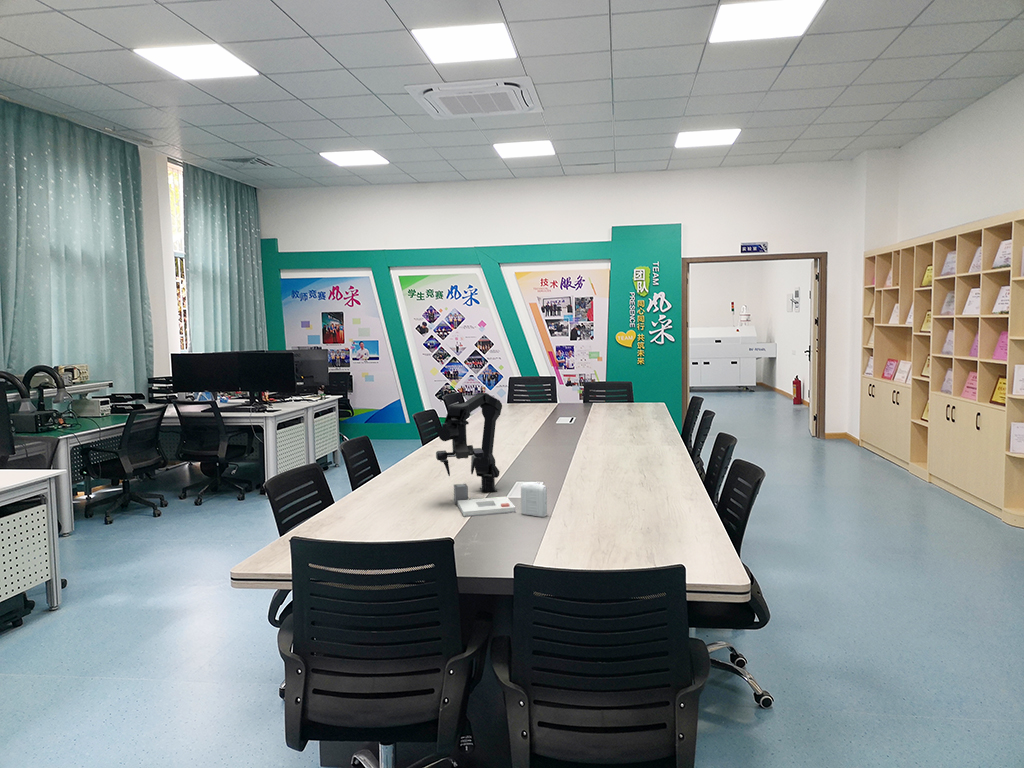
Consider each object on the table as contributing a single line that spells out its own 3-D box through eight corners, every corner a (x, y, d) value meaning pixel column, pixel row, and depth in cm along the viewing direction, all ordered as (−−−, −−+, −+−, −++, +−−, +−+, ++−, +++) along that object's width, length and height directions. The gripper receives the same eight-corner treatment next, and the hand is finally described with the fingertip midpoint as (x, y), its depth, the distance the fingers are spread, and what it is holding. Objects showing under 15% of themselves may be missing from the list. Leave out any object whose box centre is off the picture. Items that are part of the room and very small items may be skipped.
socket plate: (457, 505, 266) (457, 498, 266) (506, 501, 271) (506, 494, 270) (463, 516, 251) (463, 509, 250) (515, 512, 255) (515, 505, 255)
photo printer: (549, 514, 251) (548, 482, 250) (543, 518, 247) (543, 485, 246) (524, 511, 256) (524, 479, 255) (519, 514, 252) (518, 482, 251)
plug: (454, 501, 272) (453, 484, 272) (466, 500, 274) (465, 483, 273) (455, 504, 268) (455, 487, 267) (468, 503, 269) (467, 486, 268)
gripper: (438, 442, 258) (439, 481, 260) (485, 438, 262) (487, 477, 264) (435, 437, 269) (436, 475, 270) (480, 434, 273) (482, 471, 275)
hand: (460, 475), depth 269 cm, fingers open, 9 cm apart
